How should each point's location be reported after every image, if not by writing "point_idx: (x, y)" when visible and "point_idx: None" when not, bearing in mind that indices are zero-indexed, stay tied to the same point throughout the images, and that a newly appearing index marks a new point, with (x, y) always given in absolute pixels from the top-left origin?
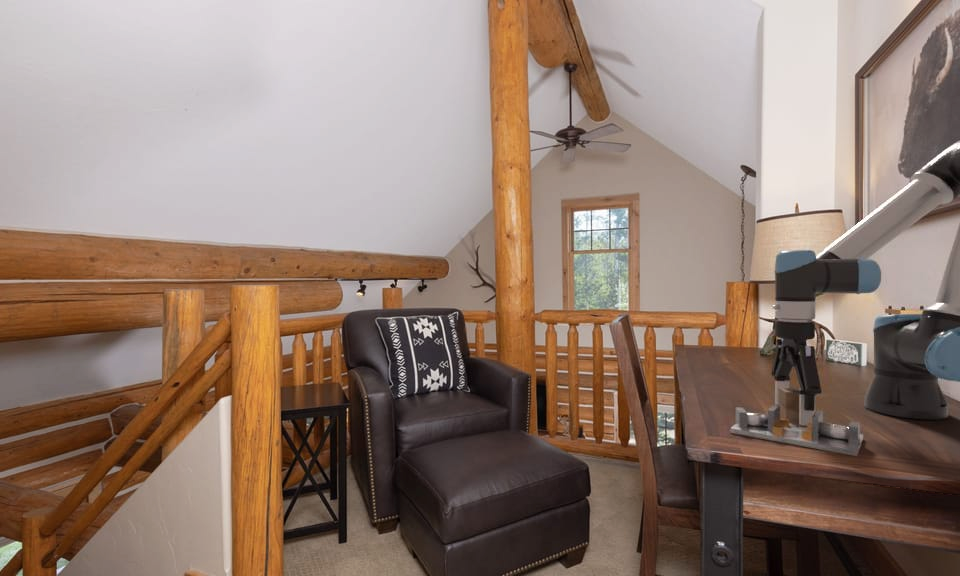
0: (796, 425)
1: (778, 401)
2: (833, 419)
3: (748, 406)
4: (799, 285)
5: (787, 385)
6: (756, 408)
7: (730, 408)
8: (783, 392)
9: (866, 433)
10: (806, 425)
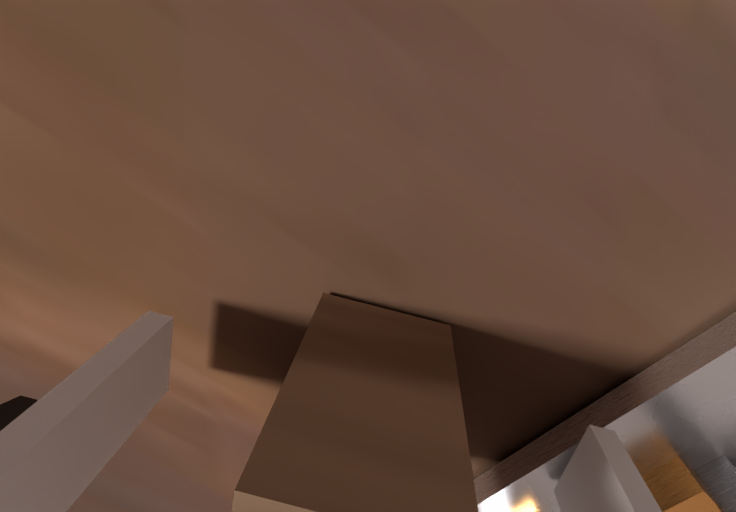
0: (552, 499)
1: (136, 420)
2: (299, 26)
3: (5, 400)
4: None
5: (3, 490)
6: (46, 385)
7: (76, 506)
8: None
9: (724, 48)
10: (568, 451)
